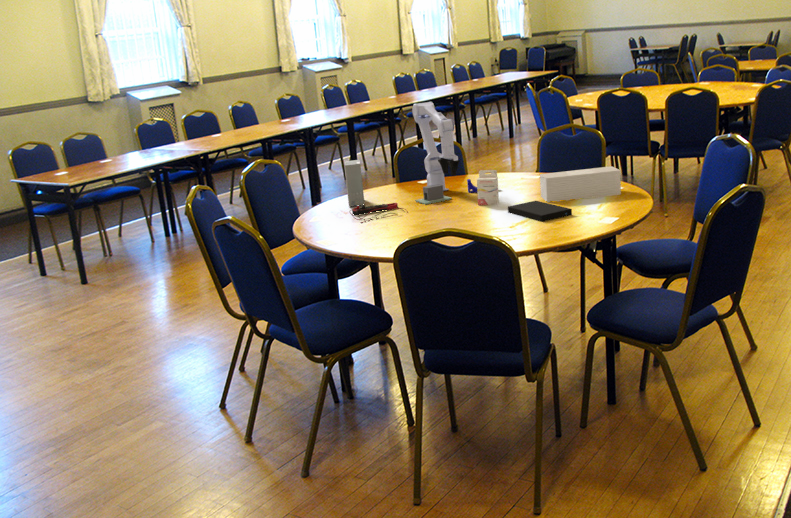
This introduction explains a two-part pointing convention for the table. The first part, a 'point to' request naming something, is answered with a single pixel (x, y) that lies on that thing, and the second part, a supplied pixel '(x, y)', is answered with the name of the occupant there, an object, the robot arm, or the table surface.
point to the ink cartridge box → (487, 188)
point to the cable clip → (471, 186)
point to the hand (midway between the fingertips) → (449, 174)
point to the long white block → (580, 184)
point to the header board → (432, 200)
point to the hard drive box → (354, 182)
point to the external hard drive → (539, 211)
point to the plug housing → (433, 192)
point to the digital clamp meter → (374, 209)
